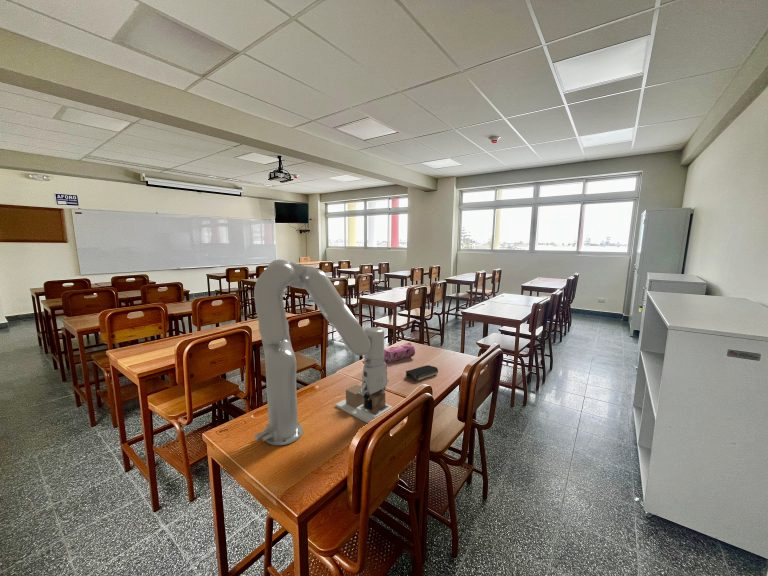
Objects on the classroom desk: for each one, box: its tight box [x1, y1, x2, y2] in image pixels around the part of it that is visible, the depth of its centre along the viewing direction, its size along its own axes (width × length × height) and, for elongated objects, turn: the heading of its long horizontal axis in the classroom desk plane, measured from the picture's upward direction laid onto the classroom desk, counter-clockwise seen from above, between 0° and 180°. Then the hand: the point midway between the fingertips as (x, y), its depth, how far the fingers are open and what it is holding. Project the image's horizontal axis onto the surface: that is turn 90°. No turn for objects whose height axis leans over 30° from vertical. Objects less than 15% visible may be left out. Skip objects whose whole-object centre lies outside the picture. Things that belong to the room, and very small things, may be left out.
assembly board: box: [335, 384, 394, 424], centre depth 122 cm, size 12×22×7 cm, turn 49°
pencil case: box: [384, 342, 416, 365], centre depth 175 cm, size 21×9×9 cm, turn 125°
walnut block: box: [363, 390, 386, 413], centre depth 118 cm, size 6×6×6 cm
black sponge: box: [405, 364, 439, 381], centre depth 154 cm, size 16×8×4 cm, turn 126°
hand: (374, 404), depth 118 cm, fingers closed on walnut block, 5 cm apart
